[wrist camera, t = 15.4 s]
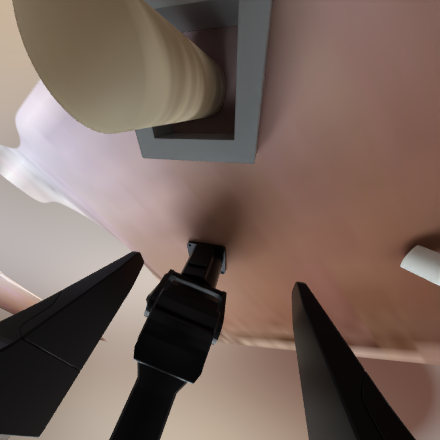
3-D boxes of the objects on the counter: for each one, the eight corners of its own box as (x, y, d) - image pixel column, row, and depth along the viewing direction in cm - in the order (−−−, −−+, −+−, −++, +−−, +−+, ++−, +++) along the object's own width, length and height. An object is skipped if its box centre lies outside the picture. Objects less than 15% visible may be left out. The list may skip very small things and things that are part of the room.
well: (256, 153, 17) (254, 163, 14) (163, 149, 19) (142, 158, 16) (275, -20, 11) (278, -72, 8) (133, 4, 13) (91, -29, 10)
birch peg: (233, 103, 15) (170, 98, 5) (195, 125, 17) (94, 151, 7) (213, 43, 13) (54, -143, 3) (173, 75, 15) (-9, 15, 5)
